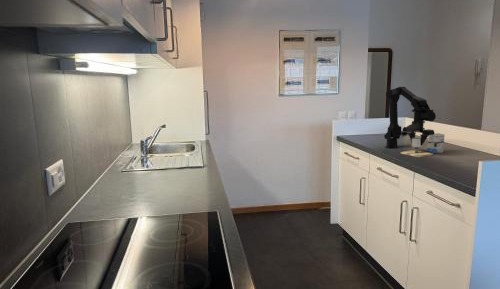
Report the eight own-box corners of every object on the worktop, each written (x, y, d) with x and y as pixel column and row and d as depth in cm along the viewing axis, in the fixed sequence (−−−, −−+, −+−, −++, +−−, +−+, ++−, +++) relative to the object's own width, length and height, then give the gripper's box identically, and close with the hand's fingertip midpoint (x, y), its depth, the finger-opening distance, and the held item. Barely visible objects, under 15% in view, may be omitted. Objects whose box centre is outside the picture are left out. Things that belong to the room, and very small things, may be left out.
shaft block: (400, 153, 228) (401, 143, 227) (413, 151, 233) (414, 141, 232) (419, 157, 216) (420, 147, 214) (432, 155, 221) (433, 144, 220)
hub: (409, 145, 225) (409, 138, 224) (415, 144, 227) (416, 137, 227) (417, 147, 220) (418, 139, 219) (424, 146, 222) (424, 138, 221)
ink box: (432, 153, 226) (433, 134, 224) (426, 151, 231) (427, 133, 228) (443, 152, 228) (445, 134, 226) (437, 150, 233) (439, 133, 231)
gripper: (397, 119, 225) (395, 143, 228) (423, 122, 209) (421, 148, 212) (409, 117, 230) (407, 141, 233) (435, 120, 214) (433, 146, 217)
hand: (417, 144), depth 223 cm, fingers closed on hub, 6 cm apart
